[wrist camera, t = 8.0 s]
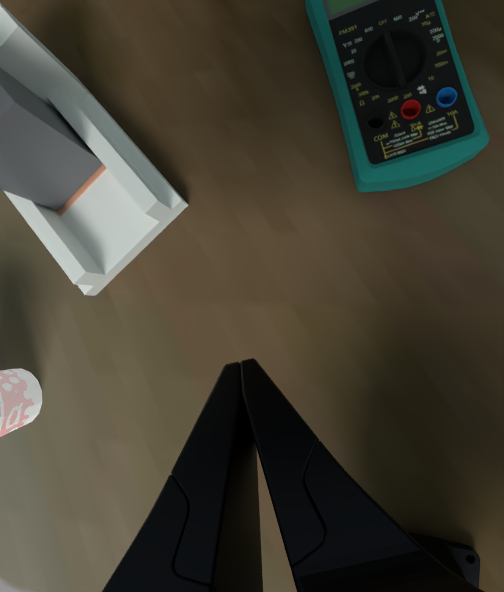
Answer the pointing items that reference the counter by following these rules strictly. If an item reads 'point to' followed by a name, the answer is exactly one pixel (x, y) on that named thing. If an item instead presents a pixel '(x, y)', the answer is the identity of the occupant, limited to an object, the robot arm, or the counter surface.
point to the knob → (39, 148)
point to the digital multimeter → (397, 89)
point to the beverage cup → (18, 399)
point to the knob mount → (101, 185)
